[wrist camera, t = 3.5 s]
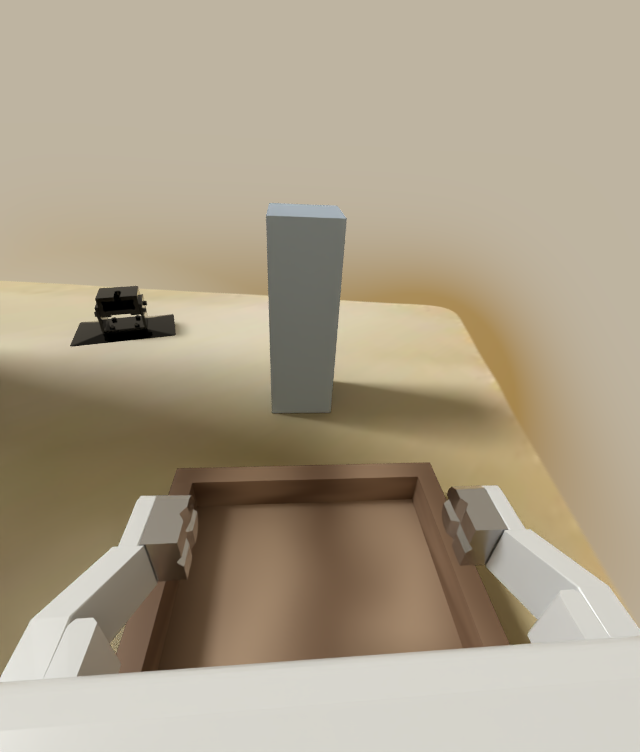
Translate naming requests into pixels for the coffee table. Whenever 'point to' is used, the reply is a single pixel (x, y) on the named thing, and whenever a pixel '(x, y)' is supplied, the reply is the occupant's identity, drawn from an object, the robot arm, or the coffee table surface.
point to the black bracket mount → (122, 319)
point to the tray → (311, 571)
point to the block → (303, 303)
